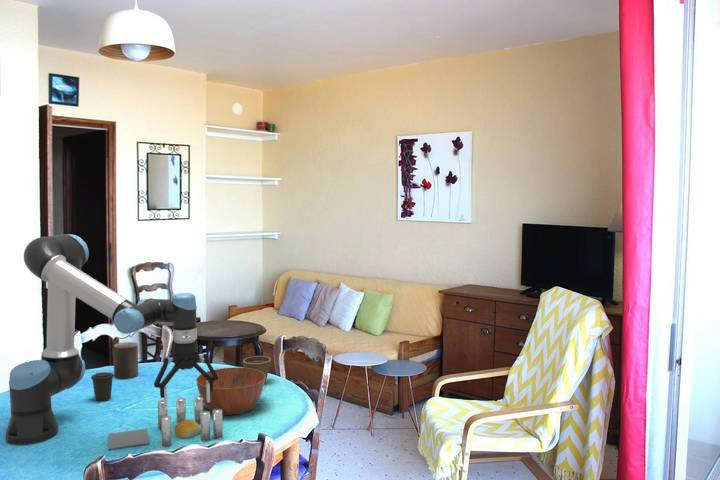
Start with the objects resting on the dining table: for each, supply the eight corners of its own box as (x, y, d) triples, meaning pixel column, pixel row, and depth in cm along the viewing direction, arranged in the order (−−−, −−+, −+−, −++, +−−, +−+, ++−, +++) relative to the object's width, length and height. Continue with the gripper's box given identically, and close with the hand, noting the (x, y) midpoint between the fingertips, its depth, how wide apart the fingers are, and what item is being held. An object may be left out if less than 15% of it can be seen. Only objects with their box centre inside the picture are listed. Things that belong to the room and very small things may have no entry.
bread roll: (175, 440, 197) (175, 428, 196) (173, 430, 205) (173, 418, 205) (201, 437, 200) (201, 425, 199) (199, 427, 208) (198, 415, 208)
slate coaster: (108, 450, 189) (108, 448, 189) (108, 435, 200) (108, 433, 200) (149, 444, 193) (149, 442, 193) (147, 430, 204) (147, 428, 204)
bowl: (183, 407, 225) (182, 377, 224) (239, 391, 243) (238, 363, 242) (222, 426, 208) (222, 393, 207) (279, 407, 226) (279, 377, 225)
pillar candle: (123, 381, 255) (123, 345, 253) (109, 376, 260) (108, 342, 259) (143, 375, 263) (142, 341, 261) (128, 371, 268) (128, 337, 267)
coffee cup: (92, 396, 236) (91, 371, 235) (115, 394, 238) (114, 369, 237) (90, 404, 228) (89, 377, 227) (113, 401, 230) (113, 375, 230)
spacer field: (162, 447, 191) (161, 419, 190) (158, 426, 207) (157, 400, 207) (223, 438, 198) (223, 411, 197) (214, 418, 215) (214, 394, 214)
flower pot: (237, 384, 252) (237, 360, 251) (256, 377, 261) (256, 354, 260) (257, 389, 246) (257, 365, 245) (276, 382, 255) (276, 358, 254)
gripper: (145, 347, 191) (148, 413, 193) (225, 339, 201) (227, 402, 203) (144, 342, 198) (146, 405, 200) (222, 334, 208) (223, 395, 209)
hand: (187, 404), depth 201 cm, fingers open, 13 cm apart
